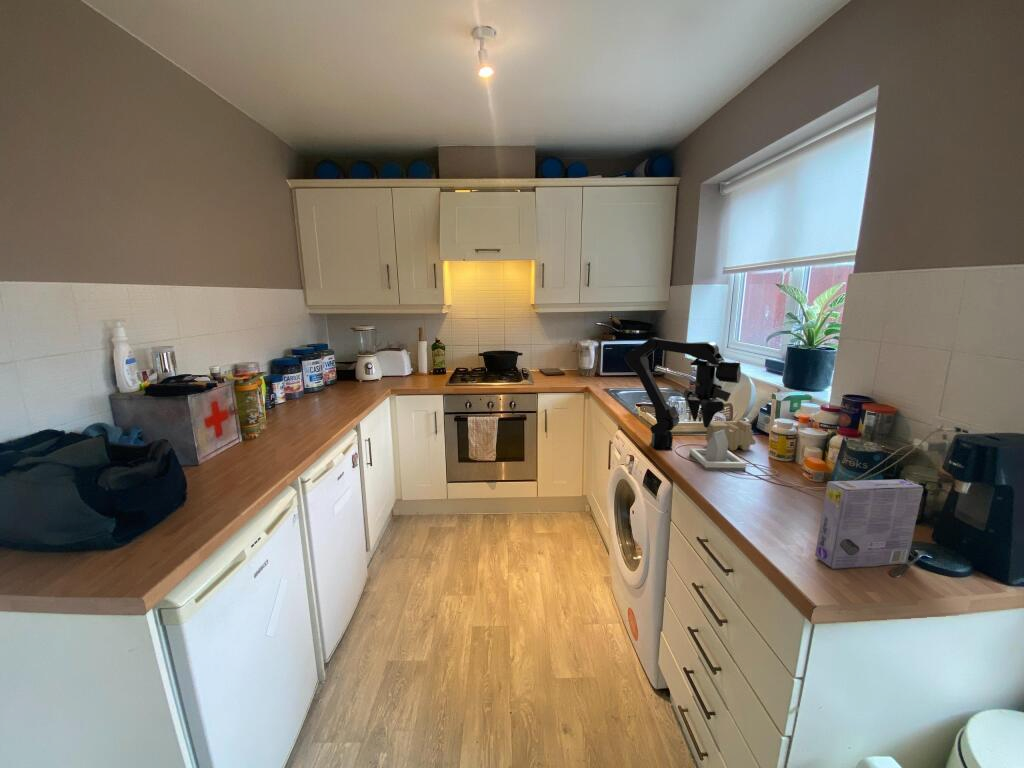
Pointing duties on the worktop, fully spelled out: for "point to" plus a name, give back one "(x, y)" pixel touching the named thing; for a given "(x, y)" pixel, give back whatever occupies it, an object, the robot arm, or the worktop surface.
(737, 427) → the toy train
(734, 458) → the tray
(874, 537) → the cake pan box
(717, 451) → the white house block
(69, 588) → the worktop surface
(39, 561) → the worktop surface
